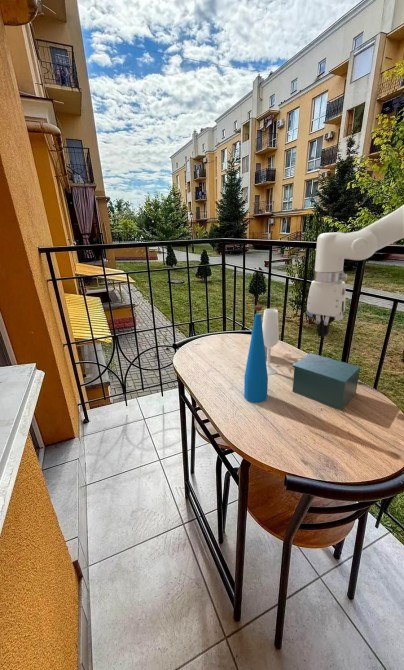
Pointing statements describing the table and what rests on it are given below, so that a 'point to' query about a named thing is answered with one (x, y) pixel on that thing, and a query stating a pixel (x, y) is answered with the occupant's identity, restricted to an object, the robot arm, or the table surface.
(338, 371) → the lid
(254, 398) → the bottle
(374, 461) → the table surface
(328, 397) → the tin box
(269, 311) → the champagne flute
